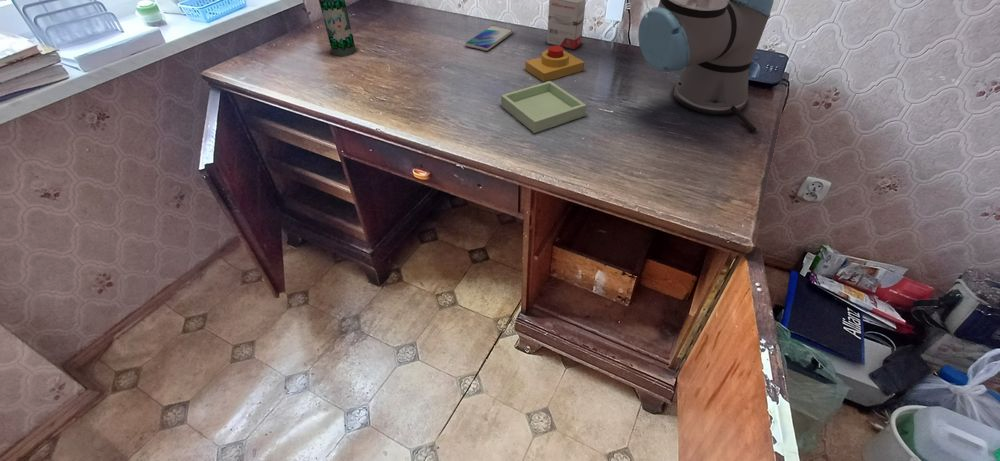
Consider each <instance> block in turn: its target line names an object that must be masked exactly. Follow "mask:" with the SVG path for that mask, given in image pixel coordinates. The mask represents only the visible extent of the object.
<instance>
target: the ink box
mask: <svg viewBox="0 0 1000 461" xmlns="http://www.w3.org/2000/svg"><path fill="white" fill-rule="evenodd" d="M585 12H586V0H548V14H547V15H548V16H547V33H546V34H547V36H546V43H547V44H549V45H552V46H560V47H562V48H567V49H570V50H576V49H577V48H578V47H580V46H581V45H582V42H583V41H582V40H583V32H584V20H585Z"/></svg>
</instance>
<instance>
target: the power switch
mask: <svg viewBox="0 0 1000 461" xmlns="http://www.w3.org/2000/svg"><path fill="white" fill-rule="evenodd" d="M524 68H525V69H524V70H525V71H527V72H528V73H529V74H531V75H532V76H534V77H535V78H537V79H538V80H540V81H541V82H542V83H545V82H548V81H553V80H556V79H559V78H562V77H566V76H570V75H572V74H573V75H574V74H576V73H579V72H583V71H584V68H585V61H583V60H582V59H580V58H579V57H576V56H574V55H573V54H571V53H569V52H568V51H566V50H564V49H563V57H560V58H551V57H549V56H548V49H546V50H544V51H542V53H541V56H540V57H537V58H533V59H529V60H526V61H525V67H524Z"/></svg>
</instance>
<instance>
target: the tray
mask: <svg viewBox="0 0 1000 461" xmlns="http://www.w3.org/2000/svg"><path fill="white" fill-rule="evenodd" d="M500 107H502V108H503V109H504V110H505V111H506V112H507V113H509V114H510V115H512V116H513V117H514V118H515V119H516V120H517V121H519V122H520V123H521V124H523V126H524V127H526V128H527V129H528V130H530V131H531V132H532V133H534V134H536V133H539V132H542V131H545V130H548V129H551V128H554V127H557V126H560V125H562V124H566V123H568V122H571V121H575V120H577V119H580V118H584V117H586V111H587V104H586V103H584V102H583V101H582V100H580V99H579V98H577V97H575V96H573V95H572V94H571V93H569V92H568V91H567V90H565V89H563V88H562V87H560V86H559V85H557V84H556V83H554V82H553V81H552V80H549V81H546V82H542V83H539V84H535V85H532V86H528V87H525V88H521V89H519V90H514V91H511V92H507V93H504V94H501V95H500Z"/></svg>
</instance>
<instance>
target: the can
mask: <svg viewBox="0 0 1000 461" xmlns="http://www.w3.org/2000/svg"><path fill="white" fill-rule="evenodd" d="M318 3H319V7H320V10H321V15H322V18H323V22H324V26H325V29H326V33H327V38H328V41H329V45H330V50H331V53H332V55H334V56H338V57H340V56H341V57H345V56H349V55H353V54H354V53H356V51H357V49H356V45H355V39H354V35H353V30H352V27H351V22H350V16H349V12H348V8H347V4H346V0H318Z"/></svg>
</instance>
